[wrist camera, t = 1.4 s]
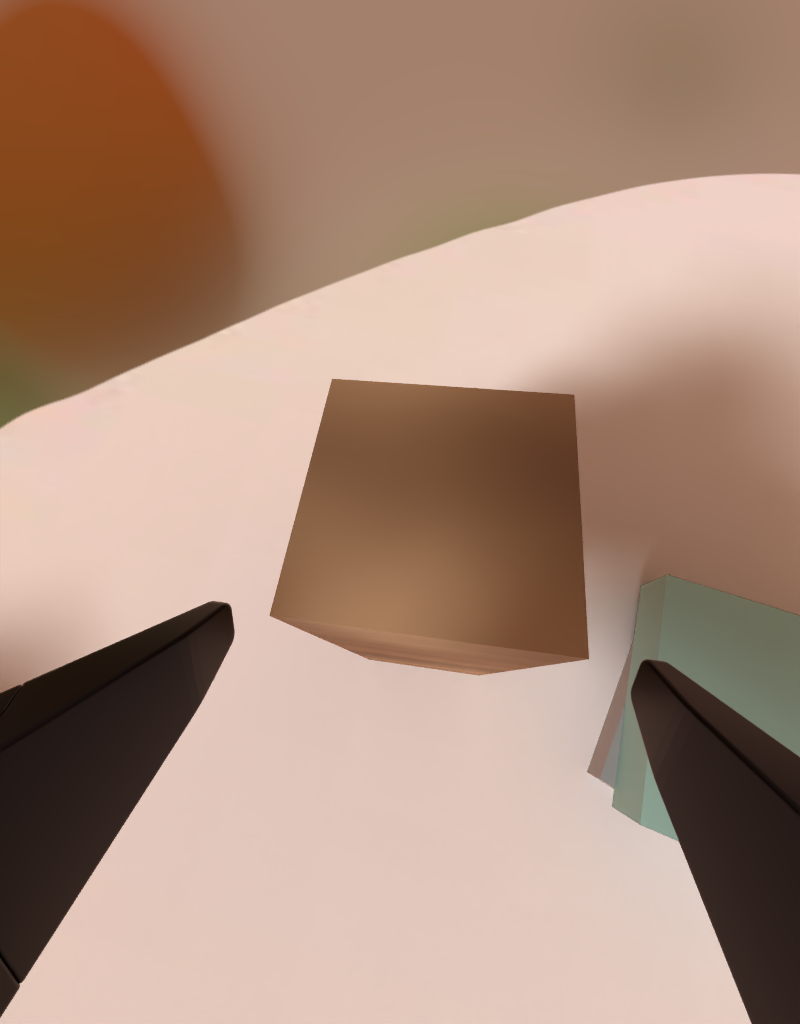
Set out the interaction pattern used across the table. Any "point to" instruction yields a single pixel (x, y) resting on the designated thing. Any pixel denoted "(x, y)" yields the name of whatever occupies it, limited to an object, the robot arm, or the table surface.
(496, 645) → the walnut pillar
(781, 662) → the teal tile
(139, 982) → the table surface
